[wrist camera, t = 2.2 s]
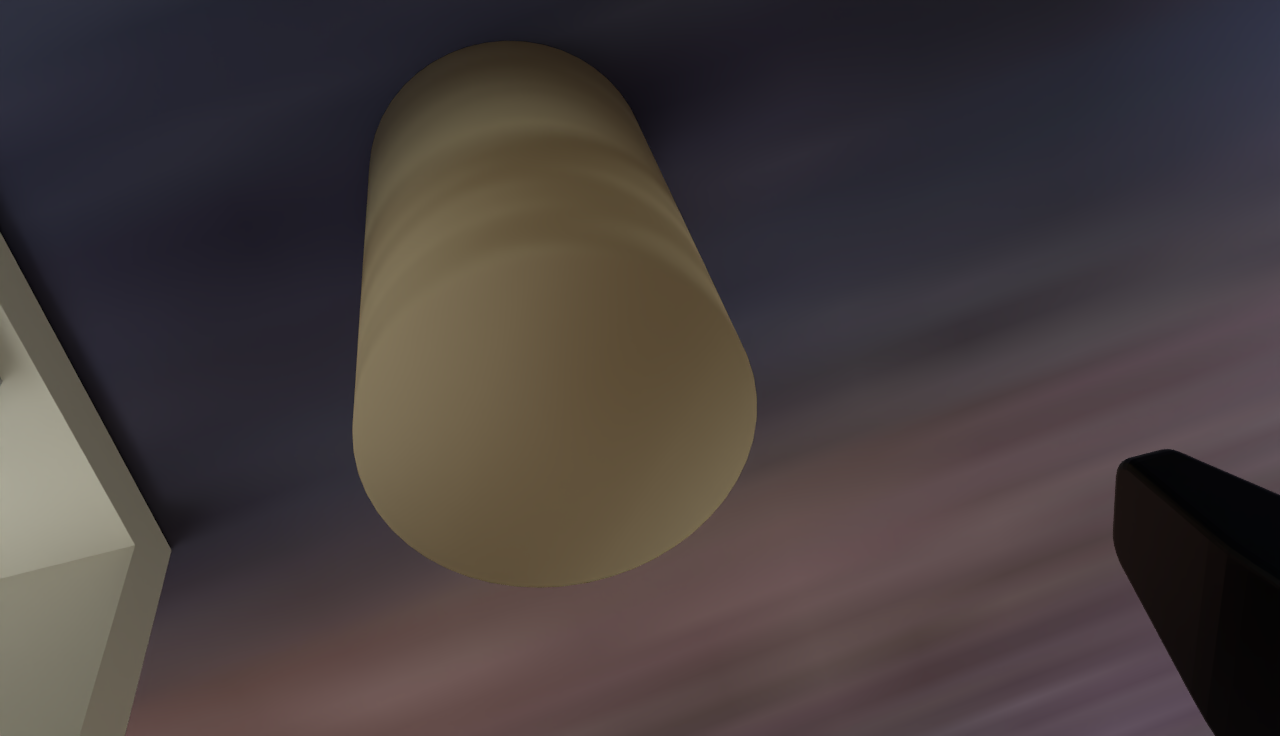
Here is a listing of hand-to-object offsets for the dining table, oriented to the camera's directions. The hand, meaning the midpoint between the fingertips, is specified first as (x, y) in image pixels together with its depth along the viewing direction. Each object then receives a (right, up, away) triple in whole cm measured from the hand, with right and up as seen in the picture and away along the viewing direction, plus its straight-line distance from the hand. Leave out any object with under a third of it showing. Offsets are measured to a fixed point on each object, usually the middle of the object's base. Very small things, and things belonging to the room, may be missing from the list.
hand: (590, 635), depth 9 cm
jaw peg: (-1, +5, +8) cm, 9 cm away
